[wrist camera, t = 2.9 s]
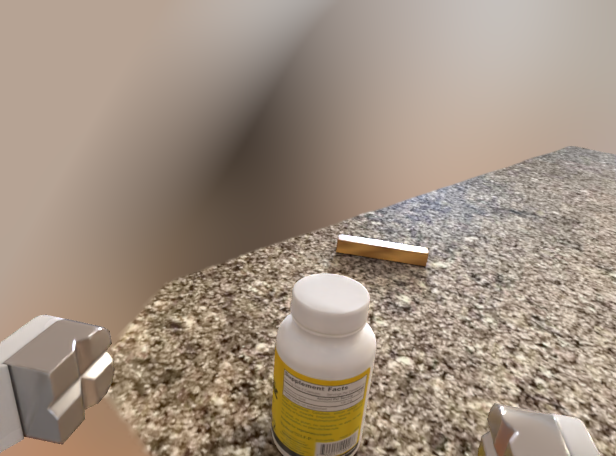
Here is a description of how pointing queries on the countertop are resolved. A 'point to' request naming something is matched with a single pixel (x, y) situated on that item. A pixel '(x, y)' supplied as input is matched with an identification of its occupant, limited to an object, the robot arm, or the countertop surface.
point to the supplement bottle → (323, 368)
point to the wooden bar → (382, 250)
